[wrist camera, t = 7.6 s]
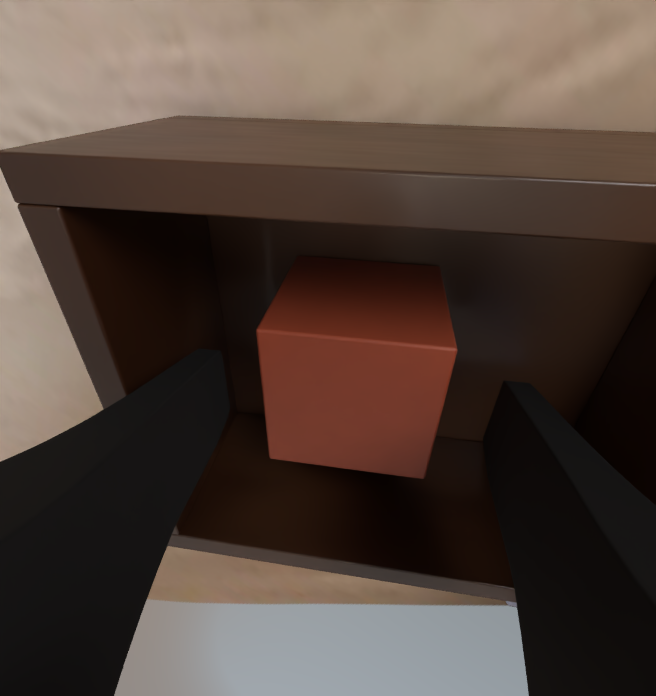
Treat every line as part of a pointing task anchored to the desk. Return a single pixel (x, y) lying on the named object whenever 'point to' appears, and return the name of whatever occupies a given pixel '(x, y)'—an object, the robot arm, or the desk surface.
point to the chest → (365, 245)
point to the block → (356, 364)
